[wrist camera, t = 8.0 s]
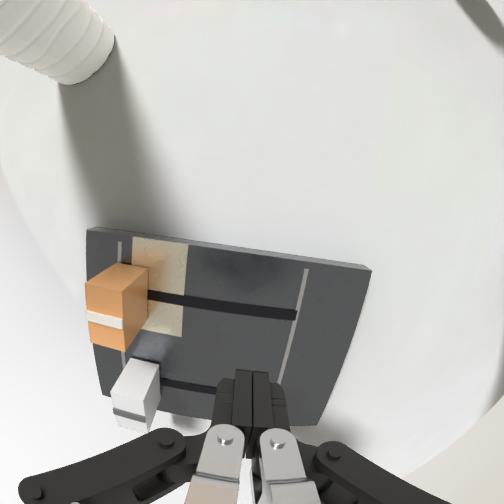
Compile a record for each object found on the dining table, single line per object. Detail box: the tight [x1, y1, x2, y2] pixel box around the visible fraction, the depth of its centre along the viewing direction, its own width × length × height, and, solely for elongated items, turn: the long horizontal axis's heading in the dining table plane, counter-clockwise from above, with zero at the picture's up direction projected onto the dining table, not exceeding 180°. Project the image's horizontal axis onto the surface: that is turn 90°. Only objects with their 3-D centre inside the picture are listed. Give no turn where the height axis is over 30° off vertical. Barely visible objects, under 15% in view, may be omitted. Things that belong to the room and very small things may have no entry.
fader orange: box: [85, 263, 148, 352], centre depth 16 cm, size 2×4×5 cm, turn 171°
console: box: [86, 227, 372, 426], centre depth 20 cm, size 21×16×2 cm
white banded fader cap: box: [110, 358, 161, 434], centre depth 18 cm, size 2×4×5 cm, turn 171°
